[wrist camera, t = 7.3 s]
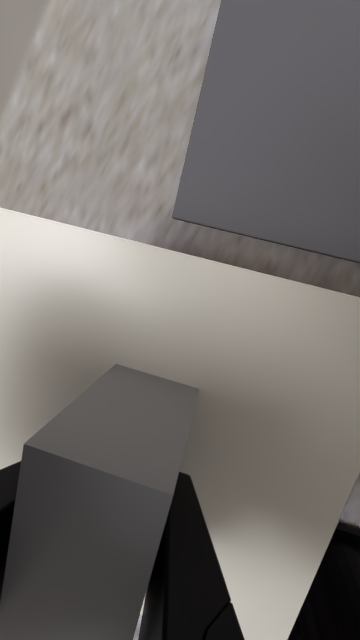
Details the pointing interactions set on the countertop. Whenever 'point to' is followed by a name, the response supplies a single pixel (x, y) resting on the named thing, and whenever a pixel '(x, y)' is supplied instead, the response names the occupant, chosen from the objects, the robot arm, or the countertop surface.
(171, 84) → the countertop surface
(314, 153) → the mat
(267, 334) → the cover sheet
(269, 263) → the countertop surface
